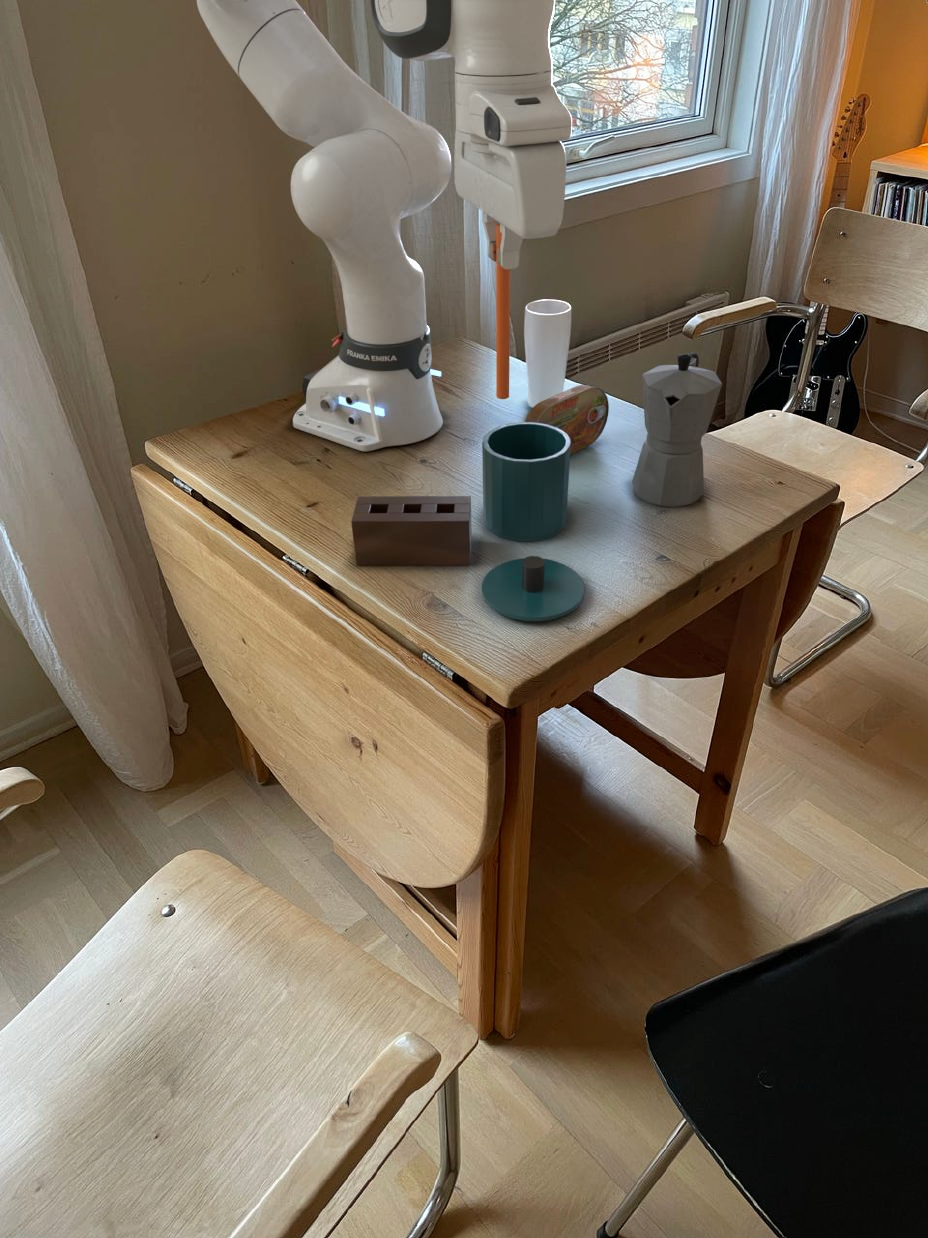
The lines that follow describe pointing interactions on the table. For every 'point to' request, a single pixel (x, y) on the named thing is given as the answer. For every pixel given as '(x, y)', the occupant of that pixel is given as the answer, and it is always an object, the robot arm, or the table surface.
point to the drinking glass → (546, 348)
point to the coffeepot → (675, 432)
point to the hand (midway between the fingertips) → (503, 263)
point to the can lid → (533, 589)
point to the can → (525, 480)
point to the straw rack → (412, 530)
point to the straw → (502, 325)
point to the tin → (574, 414)
